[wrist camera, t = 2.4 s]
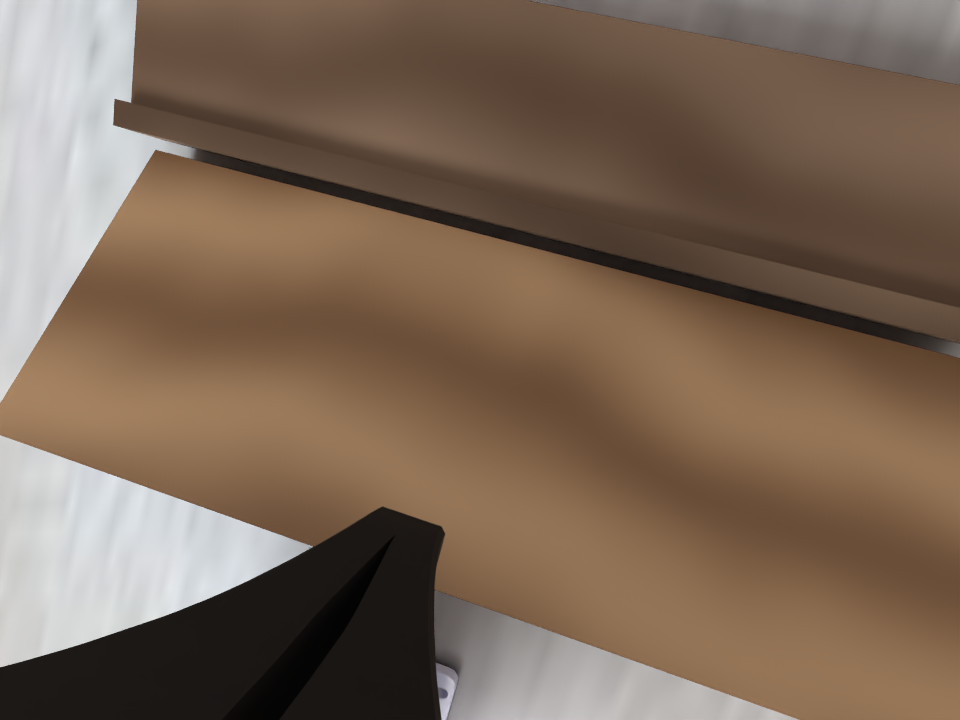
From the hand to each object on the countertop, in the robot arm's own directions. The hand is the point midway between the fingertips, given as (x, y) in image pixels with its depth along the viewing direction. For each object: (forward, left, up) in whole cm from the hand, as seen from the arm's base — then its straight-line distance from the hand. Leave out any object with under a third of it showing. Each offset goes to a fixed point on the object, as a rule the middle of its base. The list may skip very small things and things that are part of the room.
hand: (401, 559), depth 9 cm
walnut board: (+10, 0, -9) cm, 13 cm away
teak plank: (+1, 0, -6) cm, 6 cm away
